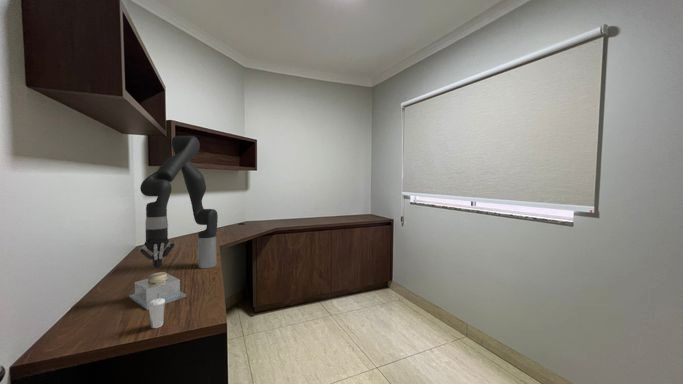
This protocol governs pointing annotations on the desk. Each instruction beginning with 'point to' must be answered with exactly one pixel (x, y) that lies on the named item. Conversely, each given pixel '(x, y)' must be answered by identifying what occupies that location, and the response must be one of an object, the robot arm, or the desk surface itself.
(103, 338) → the desk surface
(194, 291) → the desk surface
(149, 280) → the beech pin
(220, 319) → the desk surface
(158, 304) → the milkshake
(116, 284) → the desk surface
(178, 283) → the block
